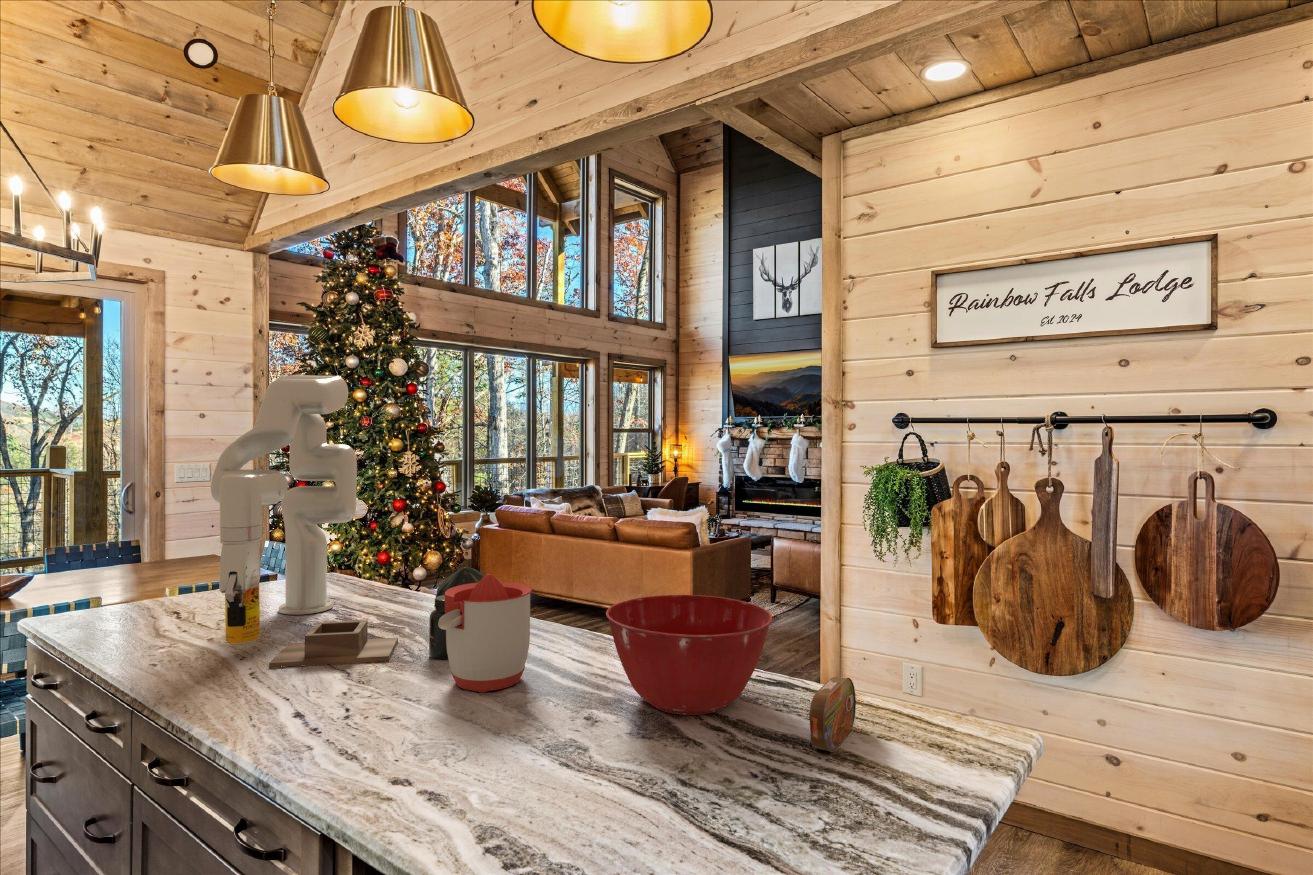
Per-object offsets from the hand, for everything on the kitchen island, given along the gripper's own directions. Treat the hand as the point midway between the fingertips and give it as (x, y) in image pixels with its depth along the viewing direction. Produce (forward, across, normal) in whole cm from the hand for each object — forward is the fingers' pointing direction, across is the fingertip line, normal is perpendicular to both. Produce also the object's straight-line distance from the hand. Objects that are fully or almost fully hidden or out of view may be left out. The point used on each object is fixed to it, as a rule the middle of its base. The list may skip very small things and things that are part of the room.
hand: (242, 620), depth 147 cm
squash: (+8, -14, +44) cm, 47 cm away
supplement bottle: (+7, +9, +41) cm, 42 cm away
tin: (+6, +62, +101) cm, 119 cm away
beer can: (+5, 0, 0) cm, 5 cm away
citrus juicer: (+7, +27, +49) cm, 56 cm away
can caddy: (+7, +4, +19) cm, 21 cm away
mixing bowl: (+6, +42, +84) cm, 94 cm away
